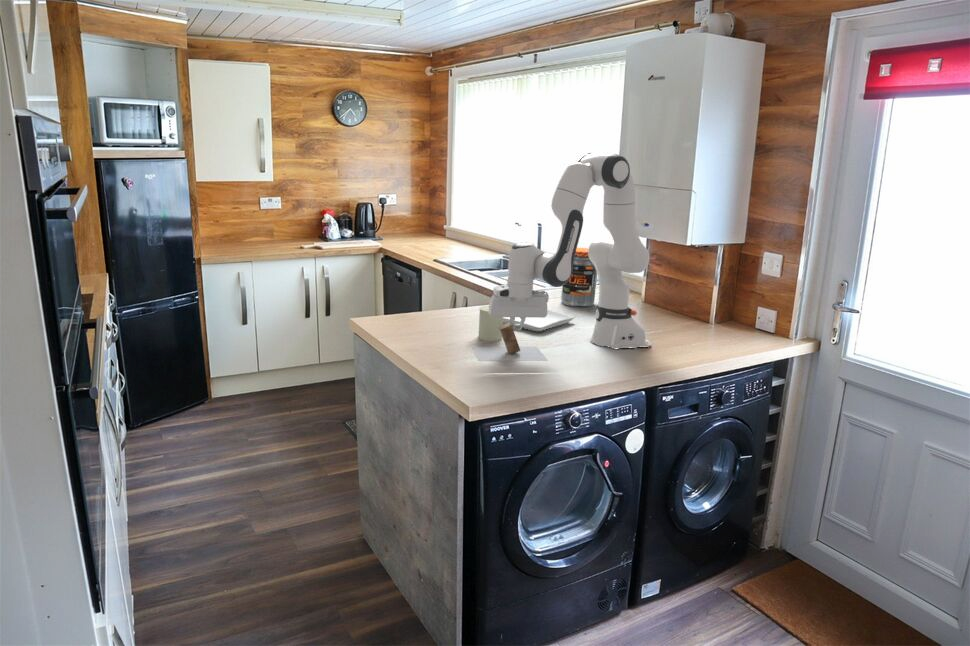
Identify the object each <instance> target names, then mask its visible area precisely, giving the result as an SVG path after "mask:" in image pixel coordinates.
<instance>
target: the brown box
mask: <svg viewBox="0 0 970 646" xmlns="http://www.w3.org/2000/svg"><path fill="white" fill-rule="evenodd" d="M499 329H500V332H501V335H502V339H503V343H504V345H505V346H504V347H506V349H507V351H508V353H509V355H511V354H514V353H517V352H519V351H520V348H519V347H520V346H519V343H518V339H517V337H516V333H515V330H513V328H512V325H511V324H510V322H508V323H506V324H503V325H500V326H499Z"/></svg>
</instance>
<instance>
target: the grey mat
mask: <svg viewBox="0 0 970 646" xmlns="http://www.w3.org/2000/svg"><path fill="white" fill-rule="evenodd" d="M519 348H520V351H519V352H517V353H514V354H511V355H509V353H508V351H507V349H506V346H471V349H472V352H473V353H474V355H475V357H476V359H477V361H478V362H502V361H503V362H511V361H512V362H513V361H514V362H515V361H516V362H518V361H521V362H524V361H526V362H527V361H529V362H530V361H531V362H532V361H533V362H534V361H536V362H537V361H538V362H539V361H540V362H541V361H543V362H545V361H548V359H547V357H546V356H545V355H544V354H543V352H541V350H540V349H539V347H538V346H519Z"/></svg>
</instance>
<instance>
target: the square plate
mask: <svg viewBox="0 0 970 646" xmlns="http://www.w3.org/2000/svg"><path fill="white" fill-rule="evenodd" d="M575 318H576V316H574V315H570V314H569V315H568V314H566V313H562V312H559V311H558V312H557V311H553V310H549V309H547V316H546V317H545V318H531V317H526V319H525V322H524V323H523V325H522V328H524V329H523V330H526V329H528V330H527V331H530V330H532V331H531V332H543V330H544V331H546V329H547V330H550V329H553V328H555V327H558V326H561V325H564V324H568V323H569V322H571V321H573V320H574V319H575ZM513 321H514V323H515V324H519V323H520V321H521V319H520V317H515V320H513ZM508 322H510V324H511V325H512V326H513V324H512V322H511V320H510V317H503V324H506V323H508ZM552 327H553V328H552ZM549 328H550V329H549Z"/></svg>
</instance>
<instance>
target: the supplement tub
mask: <svg viewBox="0 0 970 646" xmlns="http://www.w3.org/2000/svg"><path fill="white" fill-rule="evenodd" d="M588 249H589V248H587V247H577V249H576V252H575V256H574V261H573V272H572V276H571V278H570V280H569V281H568V282H567V283H566V284H565V285H563V286H561V292H560V294H561V295H560V301H561V302H562V303H563V304H564V305H566V306H569V305H570V306H569V307H574V306H589V307H591V306H590V305H592V306H593V305H594V303H595V300H596V299H595V296H596V288H597V287H596V286H597V281H598V280H597V279H598V275H597V271H596V269H595V266H594V264H593V263H592V262H591V261H590V259H589V256H588Z"/></svg>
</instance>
